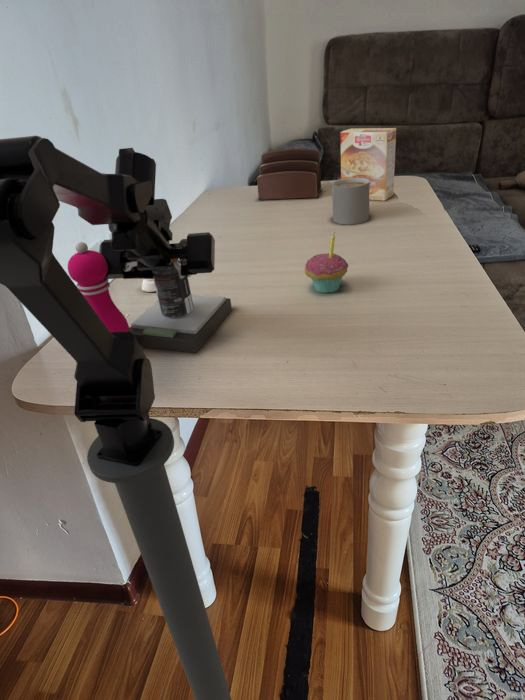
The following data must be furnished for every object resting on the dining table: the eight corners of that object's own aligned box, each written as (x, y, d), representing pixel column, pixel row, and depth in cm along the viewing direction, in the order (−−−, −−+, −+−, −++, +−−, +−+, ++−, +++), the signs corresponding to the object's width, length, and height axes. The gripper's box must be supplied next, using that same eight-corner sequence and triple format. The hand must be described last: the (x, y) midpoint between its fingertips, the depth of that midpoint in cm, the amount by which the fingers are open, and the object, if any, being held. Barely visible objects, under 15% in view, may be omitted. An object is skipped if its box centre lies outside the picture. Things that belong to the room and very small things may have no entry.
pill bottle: (200, 308, 88) (189, 249, 83) (175, 322, 85) (162, 261, 79) (180, 301, 92) (168, 244, 86) (155, 313, 89) (141, 255, 83)
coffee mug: (368, 223, 130) (369, 185, 125) (331, 225, 132) (330, 187, 127) (369, 209, 141) (370, 173, 136) (335, 210, 143) (334, 175, 138)
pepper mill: (84, 360, 83) (45, 249, 73) (110, 339, 89) (77, 233, 78) (118, 366, 80) (83, 251, 70) (142, 343, 86) (113, 235, 75)
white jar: (164, 291, 105) (164, 282, 110) (162, 278, 104) (162, 270, 108) (142, 294, 105) (142, 285, 109) (138, 282, 103) (139, 273, 107)
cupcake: (354, 283, 99) (354, 225, 93) (337, 300, 93) (335, 240, 87) (317, 277, 103) (314, 222, 97) (298, 293, 98) (294, 236, 91)
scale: (195, 353, 82) (192, 336, 80) (126, 345, 86) (121, 329, 85) (232, 309, 94) (229, 294, 93) (169, 305, 99) (166, 290, 97)
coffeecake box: (340, 198, 154) (339, 131, 144) (350, 192, 159) (350, 127, 149) (385, 201, 146) (387, 131, 136) (394, 194, 151) (397, 127, 141)
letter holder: (265, 192, 169) (261, 150, 162) (321, 190, 164) (320, 146, 157) (258, 200, 161) (253, 156, 154) (317, 198, 156) (315, 152, 149)
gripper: (202, 181, 72) (224, 230, 87) (84, 191, 74) (125, 237, 89) (201, 250, 69) (223, 288, 84) (78, 258, 72) (121, 294, 87)
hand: (172, 275), depth 86 cm, fingers closed on pill bottle, 6 cm apart
